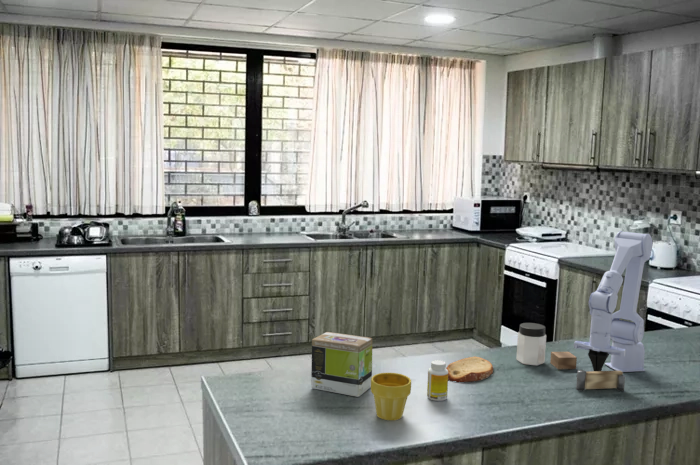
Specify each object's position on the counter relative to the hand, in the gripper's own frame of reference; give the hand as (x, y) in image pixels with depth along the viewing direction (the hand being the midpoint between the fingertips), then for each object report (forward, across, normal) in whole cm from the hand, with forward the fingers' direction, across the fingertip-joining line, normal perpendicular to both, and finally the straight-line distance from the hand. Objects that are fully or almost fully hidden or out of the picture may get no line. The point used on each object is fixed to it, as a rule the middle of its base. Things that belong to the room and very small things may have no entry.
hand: (597, 375), depth 198 cm
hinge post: (+2, -2, -10) cm, 10 cm away
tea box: (+2, -58, -52) cm, 78 cm away
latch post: (+2, +8, -3) cm, 8 cm away
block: (+2, -13, +8) cm, 15 cm away
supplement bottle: (+2, -33, -42) cm, 53 cm away
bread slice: (+3, -35, -16) cm, 38 cm away
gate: (+2, +3, -5) cm, 6 cm away
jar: (+2, -23, +6) cm, 24 cm away
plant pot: (+2, -37, -60) cm, 71 cm away
